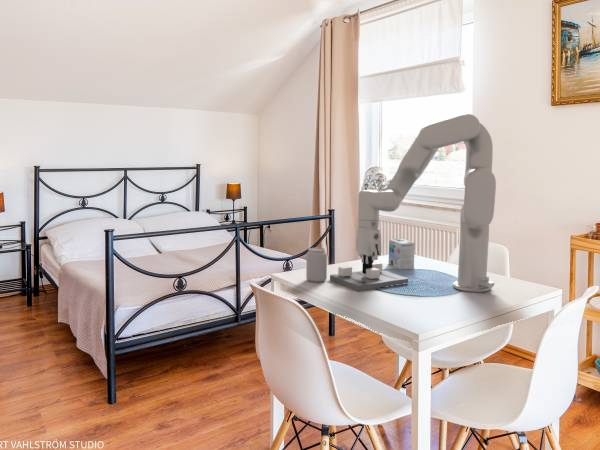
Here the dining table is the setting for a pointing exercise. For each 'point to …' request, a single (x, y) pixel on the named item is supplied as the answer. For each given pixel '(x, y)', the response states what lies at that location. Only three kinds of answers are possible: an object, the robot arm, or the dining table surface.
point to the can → (316, 265)
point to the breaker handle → (373, 273)
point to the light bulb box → (401, 253)
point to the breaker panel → (363, 283)
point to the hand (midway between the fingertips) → (367, 273)
